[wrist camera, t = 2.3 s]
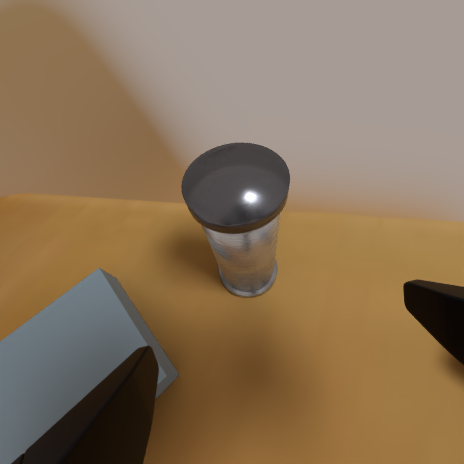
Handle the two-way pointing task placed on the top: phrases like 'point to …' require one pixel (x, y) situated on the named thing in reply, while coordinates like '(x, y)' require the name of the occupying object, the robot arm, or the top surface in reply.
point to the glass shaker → (239, 211)
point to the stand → (68, 358)
